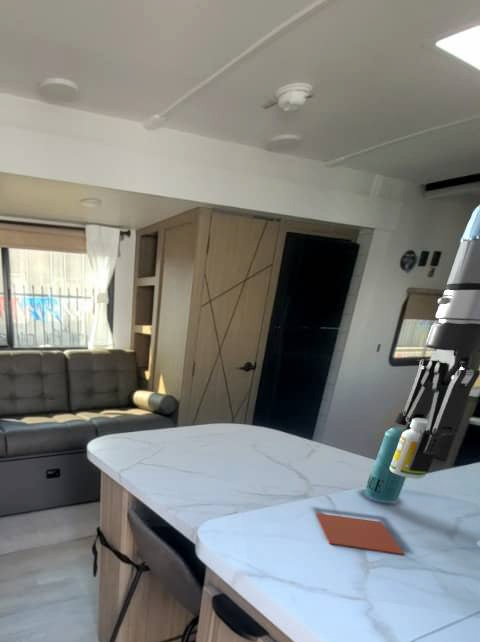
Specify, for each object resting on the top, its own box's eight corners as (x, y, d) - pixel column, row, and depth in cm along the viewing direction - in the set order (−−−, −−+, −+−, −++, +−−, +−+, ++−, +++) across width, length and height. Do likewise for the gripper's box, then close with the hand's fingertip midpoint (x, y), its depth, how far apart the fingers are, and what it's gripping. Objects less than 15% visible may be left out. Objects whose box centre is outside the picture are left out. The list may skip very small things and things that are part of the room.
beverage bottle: (401, 503, 90) (436, 414, 81) (387, 511, 86) (423, 419, 78) (369, 492, 94) (400, 407, 86) (355, 499, 91) (386, 411, 82)
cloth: (380, 522, 82) (380, 521, 81) (404, 555, 71) (404, 553, 71) (315, 514, 84) (316, 512, 84) (329, 544, 74) (329, 542, 74)
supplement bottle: (381, 469, 74) (399, 417, 70) (403, 466, 76) (422, 415, 71) (410, 480, 70) (431, 426, 65) (432, 477, 71) (454, 423, 67)
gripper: (411, 319, 71) (369, 446, 81) (467, 324, 55) (407, 481, 65) (461, 320, 69) (412, 449, 79) (535, 326, 53) (462, 487, 63)
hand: (410, 463), depth 72 cm, fingers closed on supplement bottle, 5 cm apart
